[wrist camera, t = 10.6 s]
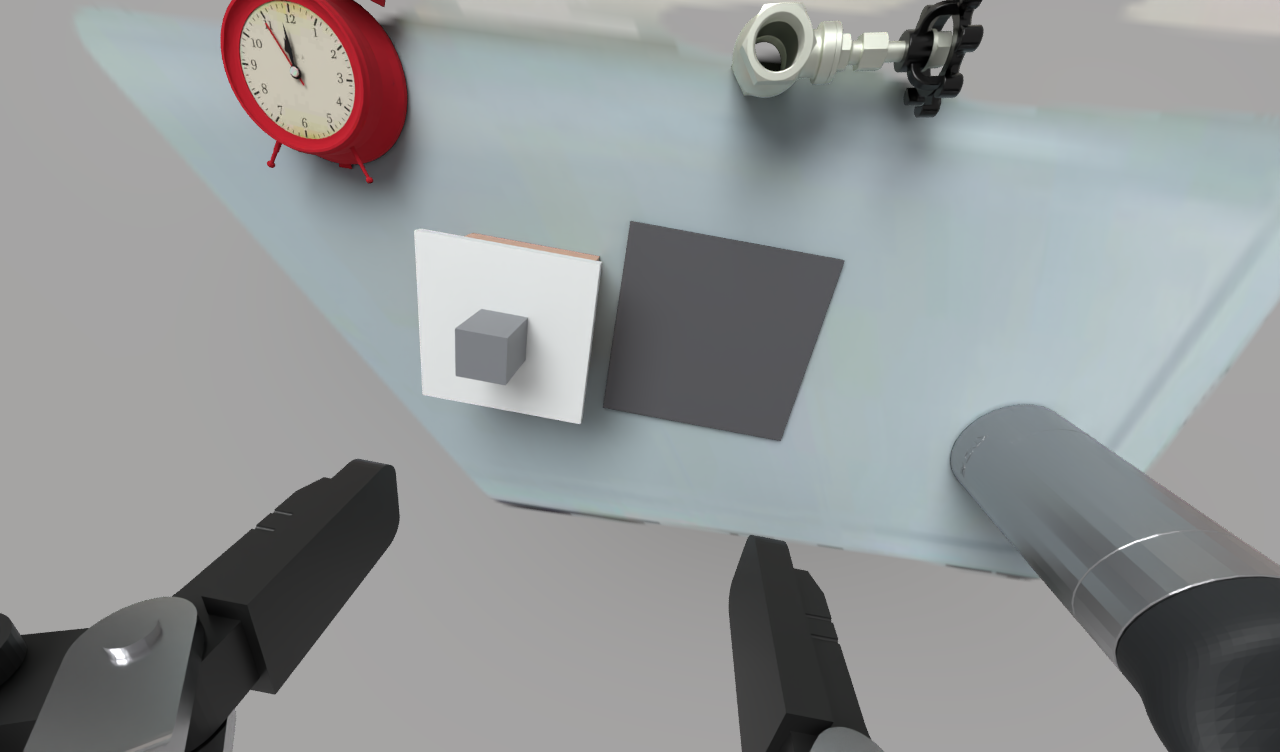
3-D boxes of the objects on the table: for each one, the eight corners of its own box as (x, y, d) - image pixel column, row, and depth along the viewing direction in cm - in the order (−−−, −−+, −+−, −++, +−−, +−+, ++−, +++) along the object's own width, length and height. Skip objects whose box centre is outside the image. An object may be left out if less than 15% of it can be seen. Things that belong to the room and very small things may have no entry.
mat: (842, 259, 34) (844, 260, 34) (779, 438, 41) (780, 440, 41) (630, 221, 34) (630, 221, 34) (603, 405, 41) (603, 407, 41)
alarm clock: (242, 171, 32) (110, -152, 23) (304, 150, 37) (217, -122, 27) (388, 193, 32) (317, -123, 22) (431, 169, 37) (387, -99, 27)
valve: (724, 124, 31) (909, 121, 30) (733, 117, 25) (964, 112, 24) (731, 3, 28) (935, -6, 27) (744, -38, 22) (1005, -51, 21)
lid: (602, 261, 30) (588, 279, 25) (582, 418, 35) (568, 455, 31) (420, 228, 30) (376, 240, 26) (428, 390, 35) (392, 422, 31)
